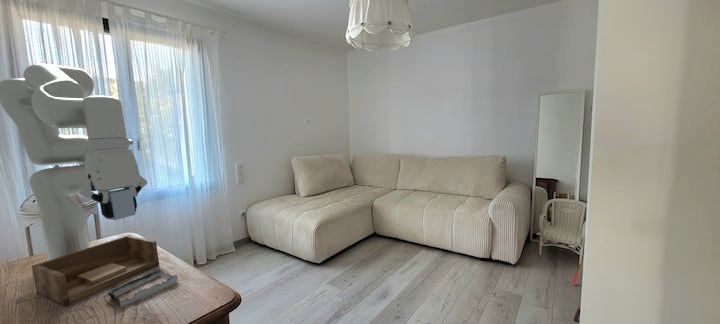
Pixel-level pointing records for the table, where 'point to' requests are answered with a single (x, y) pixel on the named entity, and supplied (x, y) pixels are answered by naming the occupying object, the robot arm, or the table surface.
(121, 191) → the block
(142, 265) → the crate
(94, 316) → the table surface
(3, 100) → the robot arm
